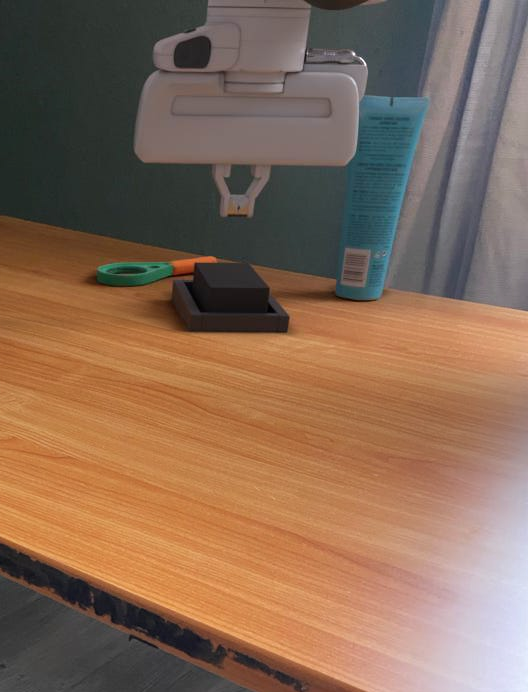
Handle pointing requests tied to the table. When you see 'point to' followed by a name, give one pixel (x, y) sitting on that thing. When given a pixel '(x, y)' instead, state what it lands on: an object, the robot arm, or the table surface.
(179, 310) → the black tray
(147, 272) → the magnifying glass
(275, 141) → the robot arm
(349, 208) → the tube
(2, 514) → the table surface
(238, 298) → the black block
